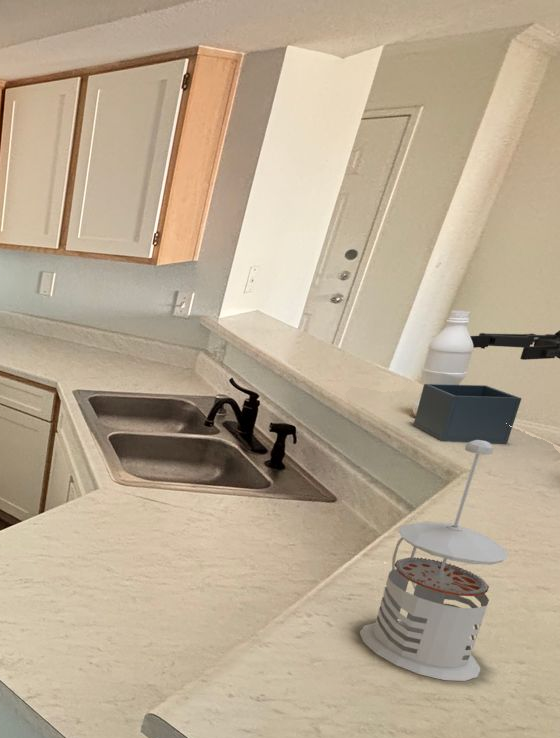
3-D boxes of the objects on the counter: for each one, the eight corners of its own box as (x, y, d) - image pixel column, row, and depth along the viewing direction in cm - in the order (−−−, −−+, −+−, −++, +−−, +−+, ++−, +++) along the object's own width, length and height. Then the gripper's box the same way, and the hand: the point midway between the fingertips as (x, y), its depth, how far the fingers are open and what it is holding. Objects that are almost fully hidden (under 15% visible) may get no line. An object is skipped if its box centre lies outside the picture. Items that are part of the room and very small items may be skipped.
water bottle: (413, 420, 137) (442, 312, 129) (407, 412, 142) (434, 308, 135) (456, 424, 133) (488, 313, 125) (448, 416, 138) (478, 309, 131)
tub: (473, 428, 130) (486, 385, 127) (507, 443, 121) (521, 398, 118) (413, 425, 134) (424, 383, 131) (441, 440, 124) (453, 396, 121)
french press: (385, 671, 63) (448, 454, 55) (337, 608, 73) (385, 418, 65) (505, 689, 60) (589, 461, 52) (437, 620, 70) (499, 422, 62)
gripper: (652, 370, 121) (548, 376, 122) (519, 349, 145) (432, 353, 145) (666, 335, 119) (560, 340, 119) (528, 318, 143) (441, 323, 143)
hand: (490, 347), depth 132 cm, fingers open, 13 cm apart
